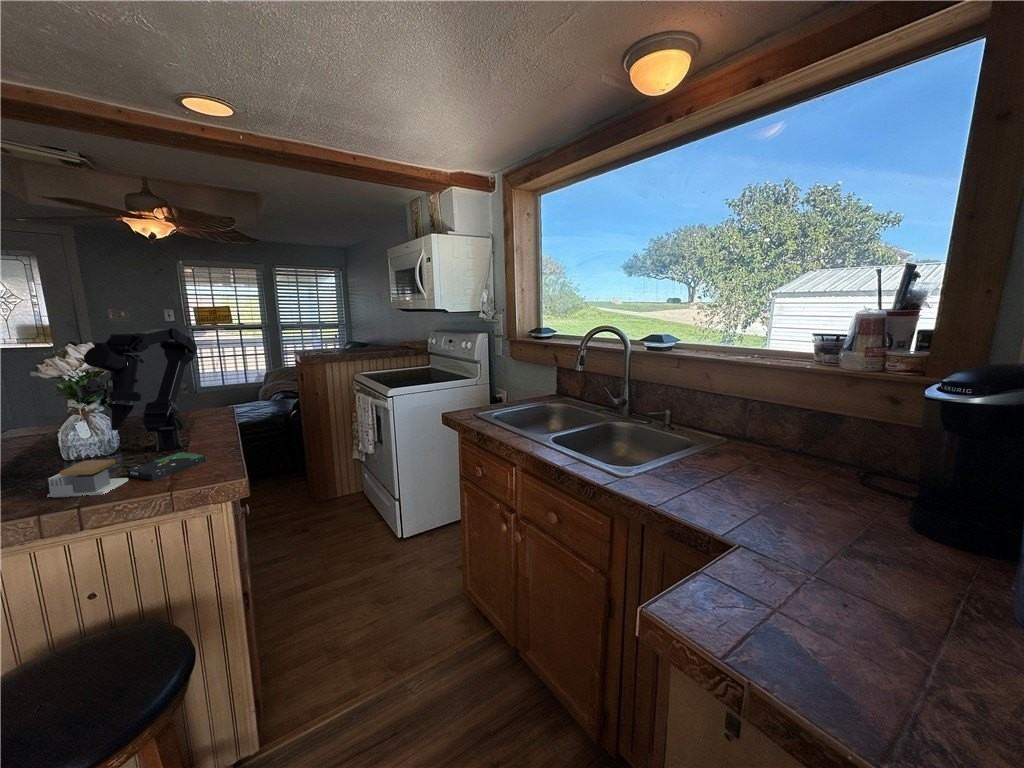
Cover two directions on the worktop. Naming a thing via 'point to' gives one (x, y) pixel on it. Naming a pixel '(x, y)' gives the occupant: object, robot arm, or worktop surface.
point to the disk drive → (166, 466)
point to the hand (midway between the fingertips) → (114, 430)
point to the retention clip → (88, 467)
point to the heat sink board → (83, 484)
